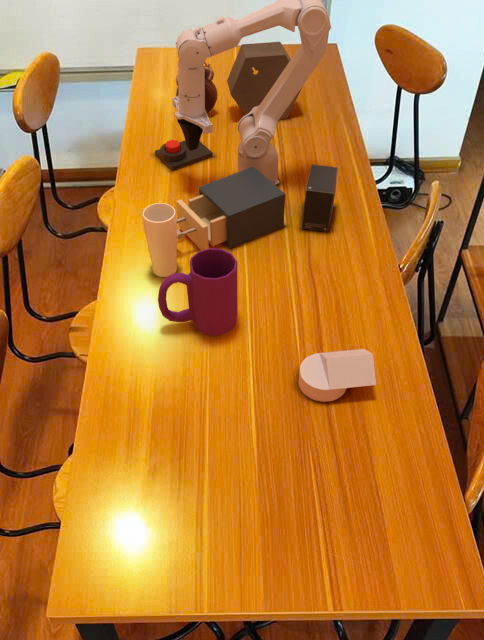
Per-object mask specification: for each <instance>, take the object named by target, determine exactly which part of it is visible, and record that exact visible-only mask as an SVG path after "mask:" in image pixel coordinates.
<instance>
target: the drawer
mask: <svg viewBox="0 0 484 640" xmlns="http://www.w3.org/2000/svg"><path fill="white" fill-rule="evenodd" d="M187 200H188V202H187V203H188V205H187V204H186V202H184V200H183V199H181V198H180V199H178V200H176V201H175V202H176V215H177V218H176V219H177V240H179V241H180V240H183V238H184V237H185V236H187V237H188V239H190V240H191V241H192V243H193V244H194V245H196V246H197V248H198V249H199V250H200V251H202V250H205V249H209V248H210V245H211V246H212V247H214V246H217V245H219V244H221V243H223V242H224V241H227V217H226V216H225V215H224V214H223V213H222V212H221V211H220V210H219V209H218V208H217V207H216V206H215V205H213V204H212V203H211V202H210V201H209V200H208V199H207V198H206V197H205V196H204V195H203V194H202V195H200V196H199V195H197V196H195V197H192V198H189V199H187ZM180 230H181V231H180Z"/></svg>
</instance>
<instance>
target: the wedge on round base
mask: <svg viewBox="0 0 484 640" xmlns="http://www.w3.org/2000/svg"><path fill="white" fill-rule="evenodd" d="M298 372H299V374H298V387H299V389H300V391H301V392H302V394H303V395H305V397H307V398H309V399H311V400H314V401H317V402H322V403H323V402H324V403H325V402H327V403H328V402H332V401H336V400H338V399H339V398H341V397H342V396H343V395H344V394H345V393H346V391H347V389H350V388H359V387H370V386H377V380H376V378H377V377H376V369H375V361H374V354H373V353H372V352H370V351H368V350H367V349H366V348H356V349H347V350H336V351H325V352H317V353H313V354H310V355H307V357H305V358H304V359H303V360H302V361H301V364H300V366H299V371H298Z"/></svg>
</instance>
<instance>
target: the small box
mask: <svg viewBox="0 0 484 640" xmlns="http://www.w3.org/2000/svg"><path fill="white" fill-rule="evenodd" d="M338 169H339V168H338V167H337V166H329V165H321V164H313V163H312V164H311V165H310V169H309V174H308V178H307V182H306V187H305V192H304V202H303V213H302V221H301V229H302V230H310V231H316V232H317V231H318V232H328V231H329V228H330V224H331V220H332V215H333V210H334V204H335V198H336V190H337V181H338Z"/></svg>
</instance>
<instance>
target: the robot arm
mask: <svg viewBox="0 0 484 640" xmlns="http://www.w3.org/2000/svg"><path fill="white" fill-rule="evenodd" d="M276 27H281V28H284V29H286V30H288V31H290V32H292V33H295V32H296V27H297V28H298V32H299V37H300V46H298V49H296V51H295V53H294V55H293V56H292V57H291V58H290V59H291V60H290V62H289V63H288V65H287V66H286V68H285V69H284V70H283V72H282V73H281V75H280V76H279V78H278V79H277V81H276V82H275V84H274V85H273V87H272V88H271V90H270V91H269V92H268V94H267V95H266V97H265V98H264V100H263V101H262V103H261V104H260V105H259V106H256V107H254V108H253V109H252V110H251V112H250V113H248V114H247V115H245V114H244V115H243V116H242V117H241V118H240V119H239V121H238V124H237V131H238V134H239V138H240V143H239V144H238V146H237V172H240V171H243V170H246V169H248V168H251V167H255V168H256V169H257V170H258V171H259V172H260V173H262V174H263V175H264V176H265V177H266V178H268V179H269V180H270V181H271V182H272V183H274V184H275V185H276V186H277V185H279V184H280V180H278V179H279V161H280V159H279V153H278V150H277V148H276V146H275V145H274V144H273V143H271V141H272V139H273V138H274V136H275V132H276V127H277V124H278V121H280V120H279V118H280V117H281V116H282V114H283V113H284V111H285V110H286V109H287V107H288V106H289V104H290V103H291V102H292V100H293V99H294V97H295V96H296V95H297V93H298V92H299V90H300V89H301V88H303V87H304V85H305V83H306V82H307V81H308V79H309V78H310V76H311V75H312V74H313V73H314V71H315V70H316V68H317V67H318V65H319V64H320V63H321V61H322V60H323V59H324V58H325V55H326V53H327V50H328V49H327V48H328V41H329V35H330V31H331V29H332V24H331V19H330V15H329V13H328V10H327V9H326V8H325V5H324V4H323V1H322V0H276V1H274V2H272V3H270V4H267V5H265V6H263V7H261V8H259V9H257V10H254V11H253V12H251V13H249V14H247V15H245V16H243V17H241V18H238V19H235V18H233V17H232V16H231V17H230V16H227V17H223V15H221V16H219V17H216V20H215V21H214V22H212V23H209V24H207V25H205V26H202V27H200V26H196V27H195V28H194V29H193V30H192V29H191V28H190V29H189V28H188V29H185V30H183V31H182V32H180V33H179V35H178V37H177V38H176V42H175V46H176V51H177V58H178V60H177V65H178V69H177V75H178V85H177V87H178V89H179V96H177V97H176V96H174V97H172V98H171V99H172V107H173V108H176V112H174V117H175V118H176V122H177V123H178V126H179V127H180V129H181V131H182V134H183V137H184V141H186V145H187V148H188V149H189V150H190V151H192V150H195V149H197V148H198V145H199V141H200V142H201V137H202V135H208V134H211V133H213V131H214V129H213V123H212V122H211V120H210V118H209V114H207V113H206V110H205V70H204V66H205V64H204V62H205V63H206V60H207V59H209V58H211V57H214V56H217V55H220V54H222V53H224V52H227V51H230V50H231V49H235V48H237V47H238V46H239V44H240V42H241V40H242V39H243V38H246V37H248V36H252V35H255V34H257V33H260V32H264V31H266V30H270V29H273V28H276ZM302 86H303V87H302ZM301 90H302V89H301Z"/></svg>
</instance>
